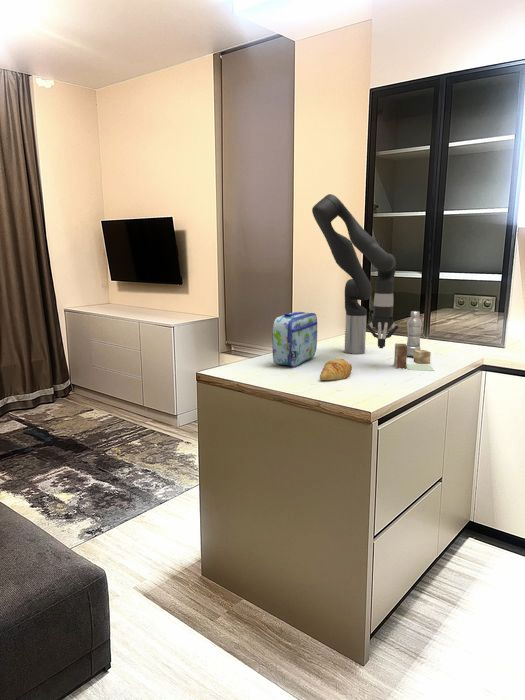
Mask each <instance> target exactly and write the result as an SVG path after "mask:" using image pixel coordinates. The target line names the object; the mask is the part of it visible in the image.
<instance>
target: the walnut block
mask: <svg viewBox="0 0 525 700" xmlns="http://www.w3.org/2000/svg"><path fill="white" fill-rule="evenodd" d="M407 357H408V356H407V343H395V344H394V359H393V360H394V361H393V366H394V368H395V369H398V368H401V369H402V370H405V369H407V367H406V364H407V360H408V358H407ZM403 368H404V369H403Z"/></svg>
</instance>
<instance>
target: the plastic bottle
mask: <svg viewBox="0 0 525 700" xmlns="http://www.w3.org/2000/svg"><path fill="white" fill-rule="evenodd" d="M420 313H421V312H420V311H419V310H412V311H410V318H409V319H408V321H407V322H406V323H407V324H406V328H407V341H406V345H407V357H411V358H414V350H422V349H421V332H422V328H423V322H422V320H421V318H420V316H421V315H420Z"/></svg>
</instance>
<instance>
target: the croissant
mask: <svg viewBox="0 0 525 700" xmlns="http://www.w3.org/2000/svg"><path fill="white" fill-rule="evenodd" d="M352 369H353V366H352V364H351V363H349V362H348V361H347V360H345V359H344V358H334V359H331V360H328V361H326V362H325V363H324V364H323V368H322V369H321V371H320V374H319V379H320V380H321V381H338V380H339V381H340V380H345V378H348V377H349V376H350V373H351V371H352Z"/></svg>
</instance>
